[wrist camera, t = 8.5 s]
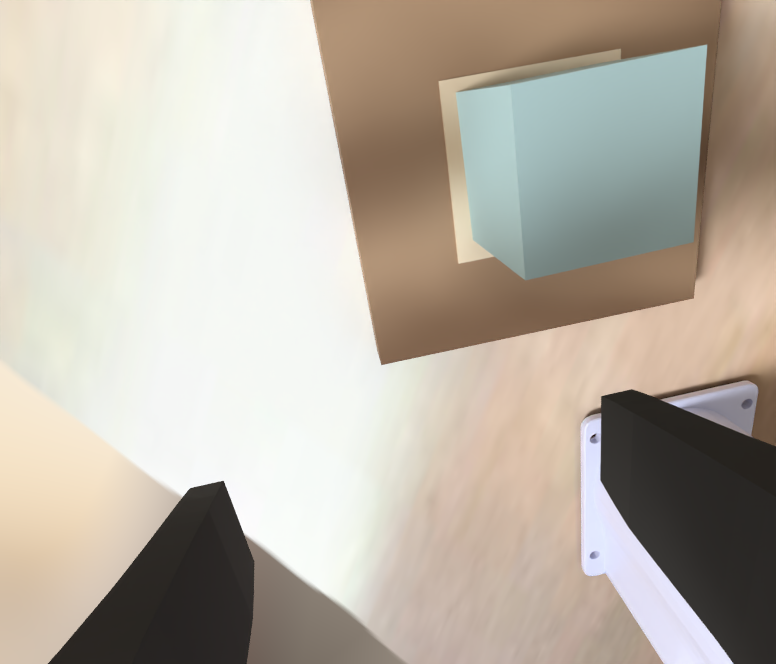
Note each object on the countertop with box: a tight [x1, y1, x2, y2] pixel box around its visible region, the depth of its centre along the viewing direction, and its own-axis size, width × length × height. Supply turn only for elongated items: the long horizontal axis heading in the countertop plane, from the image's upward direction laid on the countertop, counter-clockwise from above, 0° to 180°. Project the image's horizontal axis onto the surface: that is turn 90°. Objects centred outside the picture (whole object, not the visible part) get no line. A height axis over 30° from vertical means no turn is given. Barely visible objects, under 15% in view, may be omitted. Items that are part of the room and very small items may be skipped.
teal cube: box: [456, 45, 707, 280], centre depth 14 cm, size 4×4×4 cm
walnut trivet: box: [310, 0, 722, 365], centre depth 17 cm, size 12×12×1 cm
